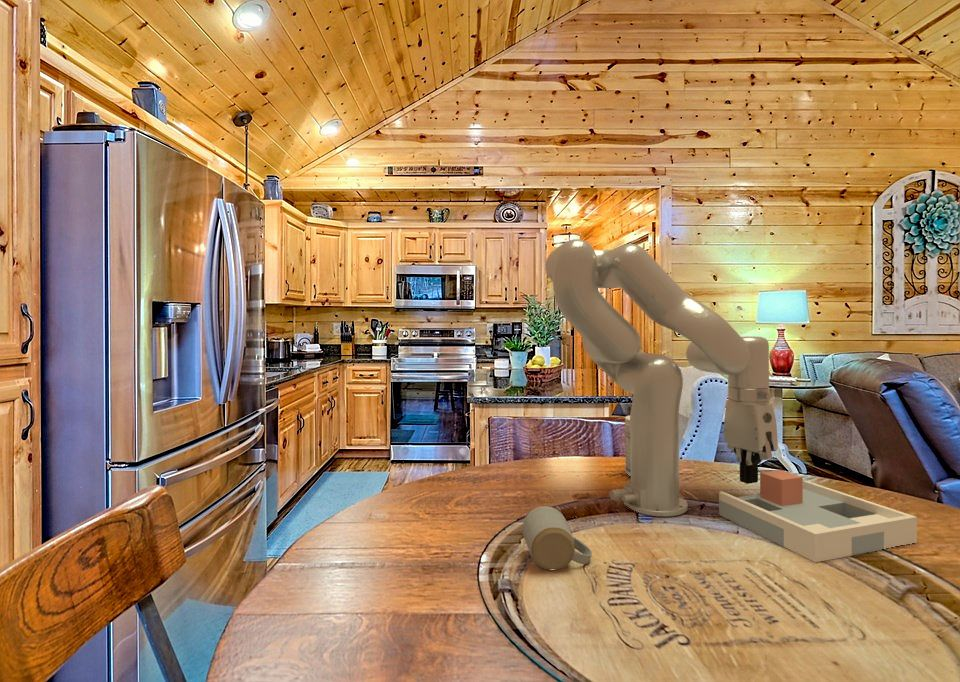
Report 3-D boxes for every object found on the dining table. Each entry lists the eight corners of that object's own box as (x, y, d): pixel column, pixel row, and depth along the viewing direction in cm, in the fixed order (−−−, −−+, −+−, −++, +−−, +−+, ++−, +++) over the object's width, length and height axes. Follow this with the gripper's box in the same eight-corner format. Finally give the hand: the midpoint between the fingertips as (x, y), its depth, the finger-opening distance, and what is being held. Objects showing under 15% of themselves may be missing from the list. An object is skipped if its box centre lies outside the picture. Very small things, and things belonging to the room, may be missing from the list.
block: (781, 506, 93) (781, 479, 93) (760, 497, 98) (760, 472, 97) (802, 503, 94) (802, 477, 94) (780, 494, 99) (780, 470, 99)
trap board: (815, 562, 77) (815, 534, 77) (719, 514, 97) (718, 492, 97) (916, 543, 83) (917, 516, 83) (806, 501, 103) (806, 480, 103)
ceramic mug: (530, 575, 75) (530, 525, 75) (522, 550, 83) (522, 505, 83) (598, 572, 76) (599, 523, 75) (583, 548, 84) (583, 503, 84)
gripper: (794, 399, 97) (794, 491, 97) (735, 390, 111) (736, 470, 112) (763, 401, 95) (763, 495, 95) (707, 392, 109) (708, 473, 110)
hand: (748, 481), depth 103 cm, fingers closed
